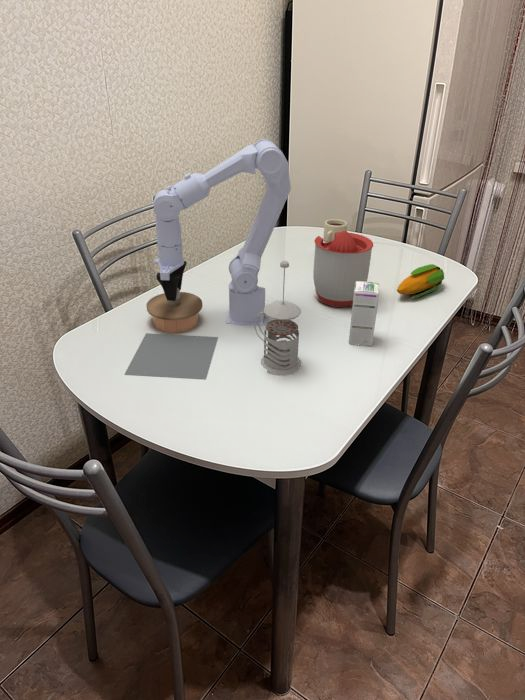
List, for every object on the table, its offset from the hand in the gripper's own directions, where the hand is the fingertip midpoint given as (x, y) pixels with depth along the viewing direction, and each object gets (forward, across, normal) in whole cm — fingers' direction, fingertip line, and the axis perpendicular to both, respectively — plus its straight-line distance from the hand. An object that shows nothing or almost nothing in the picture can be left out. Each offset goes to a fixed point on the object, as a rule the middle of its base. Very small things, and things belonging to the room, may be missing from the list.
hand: (174, 294), depth 130 cm
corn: (+8, -25, +66) cm, 71 cm away
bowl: (+8, 0, 0) cm, 8 cm away
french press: (+8, +16, +27) cm, 32 cm away
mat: (+8, +16, +3) cm, 18 cm away
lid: (+3, 0, 0) cm, 3 cm away
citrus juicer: (+8, -19, +42) cm, 47 cm away
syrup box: (+8, +4, +47) cm, 48 cm away
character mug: (+8, -46, +42) cm, 63 cm away
